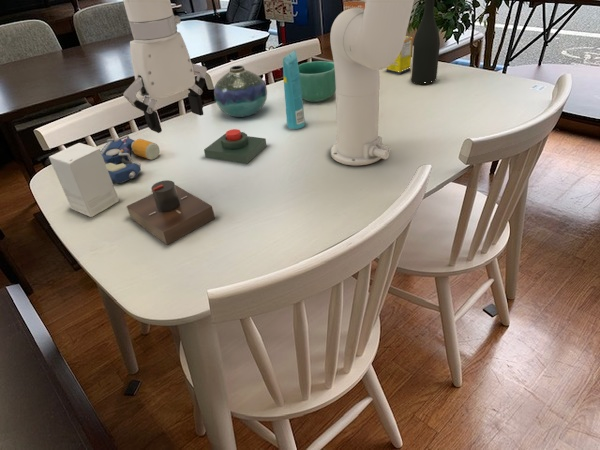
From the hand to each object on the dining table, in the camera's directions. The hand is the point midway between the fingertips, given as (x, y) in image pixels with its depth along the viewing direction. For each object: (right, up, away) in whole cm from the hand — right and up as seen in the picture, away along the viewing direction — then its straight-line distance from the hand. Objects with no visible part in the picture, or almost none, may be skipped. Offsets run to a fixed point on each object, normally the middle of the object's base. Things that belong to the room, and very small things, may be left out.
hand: (177, 122), depth 88 cm
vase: (+7, +13, +47) cm, 49 cm away
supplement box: (+58, +33, +68) cm, 95 cm away
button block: (+8, -2, +25) cm, 27 cm away
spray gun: (-19, -5, +24) cm, 31 cm away
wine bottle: (+63, +26, +57) cm, 89 cm away
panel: (-2, -19, +3) cm, 19 cm away
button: (+8, +1, +23) cm, 25 cm away
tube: (+23, +7, +36) cm, 43 cm away
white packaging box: (-20, -16, +9) cm, 27 cm away
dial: (-2, -16, +1) cm, 16 cm away
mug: (+30, +20, +54) cm, 65 cm away
